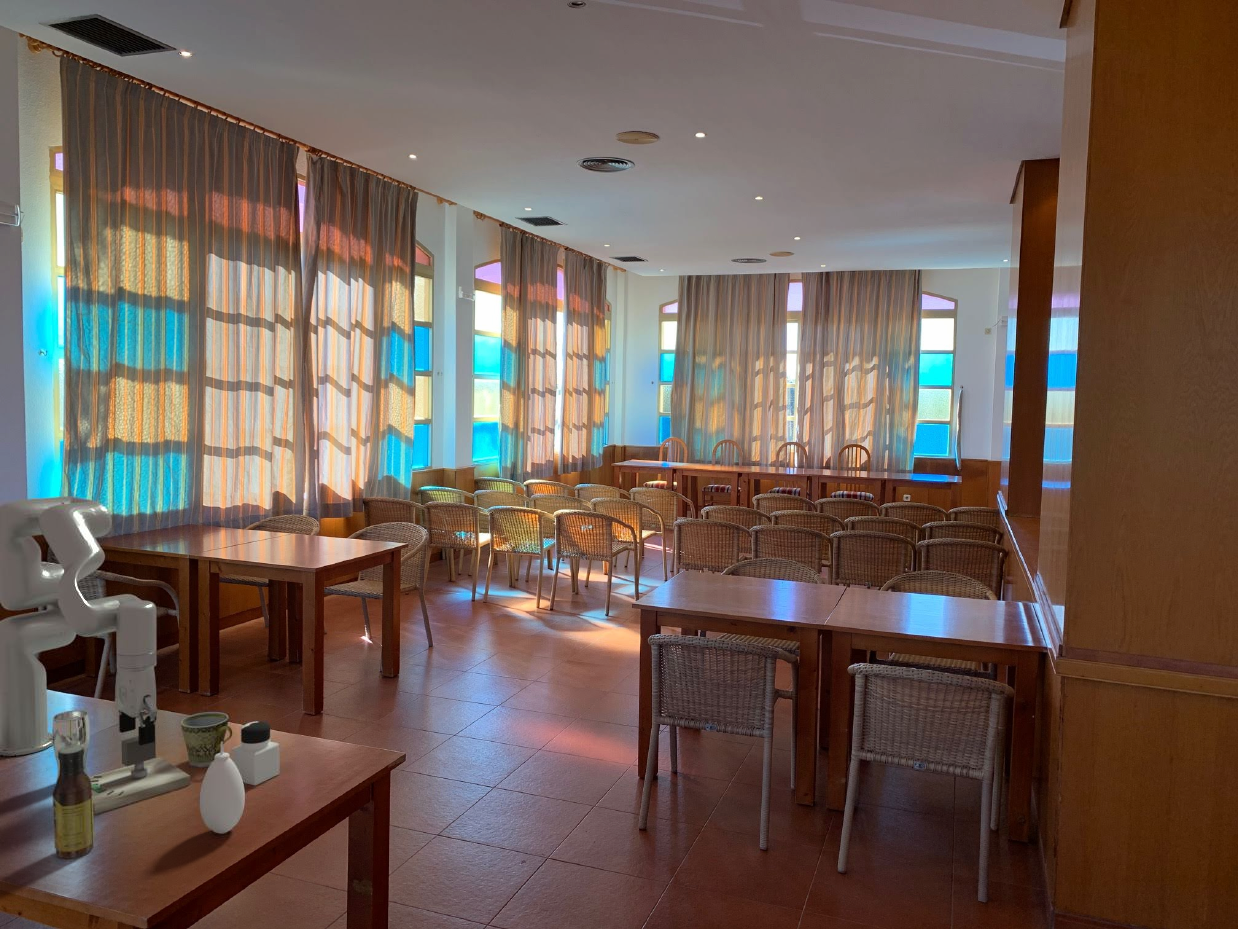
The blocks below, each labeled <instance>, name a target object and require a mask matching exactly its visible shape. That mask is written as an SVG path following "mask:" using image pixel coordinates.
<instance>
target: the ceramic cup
mask: <svg viewBox="0 0 1238 929" xmlns="http://www.w3.org/2000/svg"><path fill="white" fill-rule="evenodd" d="M229 719H230V718H229V715H228V714H226V713H224V712H219V711H207V712H200V713H199V712H198V713H195V714H192V715H188V716H187V717H185V718H182V720H181V722H180V727H181V732H182V736H183V739H184V742H185V746H186V751H187V756H188V757H187V758H188V762H189V765H190V766H191V767H196V768H205V767H209V766H210V765H211V763H212V762H213V761H214V760H215V759H214V757H215V755H216V754H218V753H220V751H221V741H222V743H223V745H225V743H226V742H228V741H229V740H230V739H231V738H232V736H233V730H232V728H231V726H229ZM227 731H228V732H229V736H228V737H227V738H226V739H225V737H226V733H227Z"/></svg>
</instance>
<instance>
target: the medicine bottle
mask: <svg viewBox="0 0 1238 929" xmlns="http://www.w3.org/2000/svg"><path fill="white" fill-rule="evenodd" d="M231 760H232V761H233V762H234V764H235V765H236V767H237V768H238V770H239V773H240V775H241V778H242V781H243V782H244V783H243V784H247V785H252V786H255V787H257V785H260V784H262V783H263V782H266V781H268V780H270V779H272V778H274V777H276V776H278V775H280V744H279V743H278V742H273V741H271V725H270V724H269V723H268V722H265V721H261V720H260V721H251V722H247V723H246V724H244V725H242V727H241V728H240V744H239V745H238V746H235V747H232V748H231Z"/></svg>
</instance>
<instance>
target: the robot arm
mask: <svg viewBox="0 0 1238 929" xmlns="http://www.w3.org/2000/svg"><path fill="white" fill-rule="evenodd" d="M112 524H113V520H112V516H111V513H110V511H109V510H108V508H107V507H106V506H105V505H104V504H102V503H100V502H99V501H96V500H91V499H86V498H82V497H78V496H77V497H76V496H57V497H56V496H55V497H43V498H41V497H40V498H28V499H26V498H25V499H20V500H19V499H17V500H13V501H8V502H4V503H2V504H0V604H1V606H2V607H3V609H6V610H7V611H23V610H28V609H34V608H35V609H36V608H40V607H41V608H42V607H46V606H47V609H46V610H40V611H35V612H34V611H33V612H28V613H27V612H26V613H22V614H18V615H14V616H13V615H12V616H9V617H6V618H4V619H1V620H0V756H1V755H3V757H12V756H13V757H14V756H15V755H16V756H24V755H29V754H33V753H38V752H41V751H42V750H46V749H48V748H50V747H51V746H52V747H53V741H52V732H51V733H50V732H48V727H49V725H48V698H47V697H48V692H47V687H48V686H47V671H46V668H45V666H44V665H43V663H42V662H40V660H39V659H37V657H36V654H37V653H42V652H46V651H50V650H53V649H58V648H61V647H65V646H68V645H69V644H71V643H72V642H73V641H74V640H75V638H76V636H77V635H78V636H81V637H85V638H87V637H88V638H89V637H94V636H98V635H99V636H100V635H104V634H108V633H113V632H116V669H117V670H116V676H115V688H114V689H115V690H114V691H115V692H114V694H115V695H114V706H115V708H116V709H118V714H119V715H118V721H119V723H118V731H119V732H120V733H121V734H123V733H127V732H130V731H134V730H136V729H137V724H136V723H137V722H136V720H137V719H138V723H139V725H140V726H138V740H139V745H145V744H149V743H153V742H155V741H156V725H157V718H158V717H157V715H158V708H157V687H156V674H155V667H156V666H157V606H156V604H155V603H154V602H152V601H150V600H142V599H141V598H138V597H137V596H136V595H133V594H131V593H130V594H128V593H124V594H119V595H113V596H107V597H102V598H101V597H100V598H96V599H90V600H86V599H85V598H84V596H83V595H82V593H81V591H80V589H79V587H78V582H79V581H80V580H82V579H84V578H86V577H87V576H89V575H90V574H92V573H94V572H95V571H96V570H97V569H99V568H100V567H101V566H102V564H103V563H104V561H105V557H106V555H105V552H104V550H103V548H102V547H101V545H100V543H99V542H98V541H97V539H96V538H100V537H103V536H105V535H107V534H109V532H110V531H111V529H112ZM42 535H43V536H44V537H43V538H44V539H45V541H46V542H47V544H48V545H49V548H50V549H51V551H52V553H53V555H54V556H55V558H56V560H57V561H58V563H57V564H55V563H54V564H47V565H42V550H41V547H40V545H39V543H38V542H37V541H36V540H35V538H33V536H42ZM145 716H146V717H145ZM136 717H137V718H136ZM144 717H145V718H144ZM16 756H15V757H16Z"/></svg>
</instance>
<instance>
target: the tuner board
mask: <svg viewBox="0 0 1238 929" xmlns="http://www.w3.org/2000/svg"><path fill="white" fill-rule="evenodd" d="M144 767H147V768H148V774H147V776H145V777H142V778H130V779H127V780H124V781H121V782H117V783H114V784H111V785H108V786H105V787H100V784H103V783H106V782H109V781H113V780H116V779H119V778H122V777H125V776H129V775H131V770H132V769H134V765H131V766H128V767H127V766H124V767H120V768H116V769H114V770H109V771H106V772H103V773H98V774H95V775H92V776H89V778H90V780H91V785H92V786H91V787H92V795H93V814H94V815H97V814H102V813H104V812H107V811H111V810H114V809H116V808H120V807H123V806H126V804H127V805H129V804H133V803H136V801H137V802H139V801H142V800H146V799H149V798H152V797H156V796H158V795H162V794H165V793H170V792H171V791H175V790H178V789H181V788H185V787H188V786H190V785H191V775H190V774H188V773H186V772H185V771H184V770H181V769H180V768H178V767H176V766H175V765H173V764H172V763H170V762H168V761H167V760H166V759H164V758H162V757H161V756H159V757H157V758H154V759H151V760H147V761H144ZM132 802H133V803H132Z"/></svg>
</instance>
